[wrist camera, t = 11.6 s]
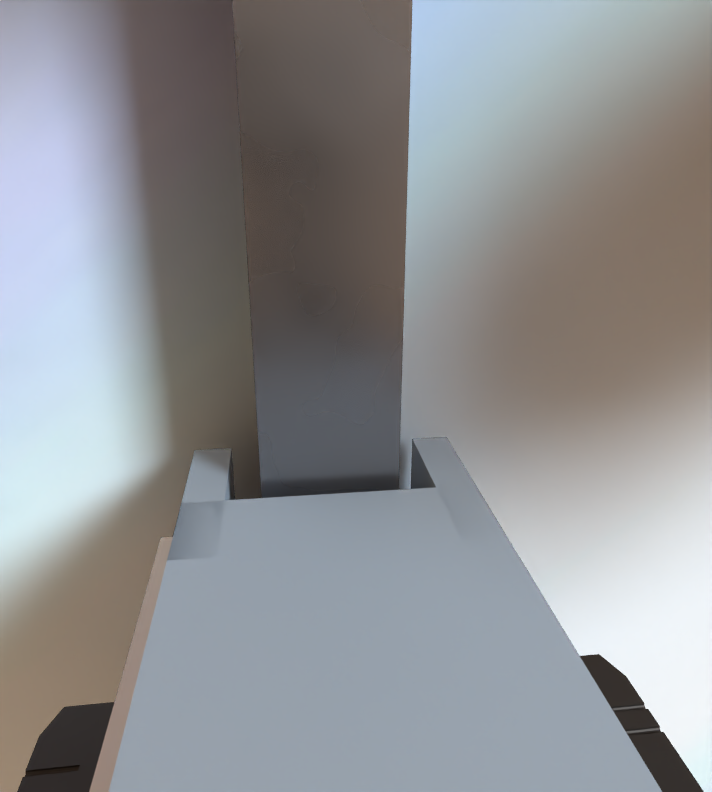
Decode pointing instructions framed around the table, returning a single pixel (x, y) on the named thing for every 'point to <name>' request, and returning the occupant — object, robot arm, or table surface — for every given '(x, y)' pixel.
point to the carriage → (361, 651)
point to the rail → (325, 235)
